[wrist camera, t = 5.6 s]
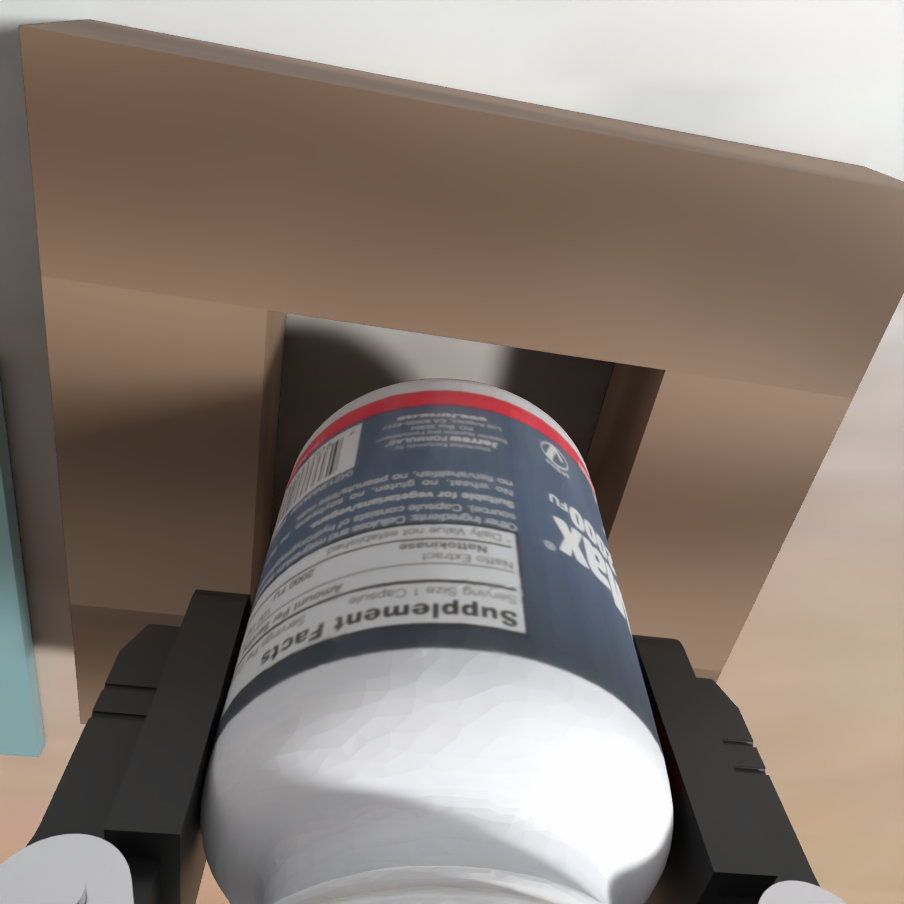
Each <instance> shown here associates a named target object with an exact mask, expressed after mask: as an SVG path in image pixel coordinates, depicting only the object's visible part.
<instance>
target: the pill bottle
mask: <svg viewBox="0 0 904 904" xmlns="http://www.w3.org/2000/svg"><path fill="white" fill-rule="evenodd" d="M200 826H201V833H202V841H203V848H204V852H205V856H206V859H207V862H208V864H209V867H210V869H211V872H212V874H213V876H214V878H215V880H216V882H217V883H218V885H219V887H220V889H221V890H222V892H223V893H224V895H225V896H226V898H227V899H228V900H229V902H230V903H231V904H644V903H645V902H646V900H647V899H648V898H649V896H650V895H651V893H652V891H653V890H654V888H655V886H656V885H657V883H658V881H659V879H660V877H661V875H662V872H663V870H664V868H665V865H666V862H667V858H668V855H669V852H670V847H671V840H672V833H673V804H672V797H671V791H670V785H669V780H668V775H667V771H666V766H665V761H664V756H663V752H662V748H661V744H660V741H659V737H658V733H657V729H656V725H655V722H654V718H653V714H652V710H651V706H650V702H649V699H648V695H647V691H646V688H645V684H644V680H643V676H642V673H641V669H640V665H639V662H638V658H637V654H636V650H635V646H634V642H633V638H632V634H631V630H630V626H629V622H628V618H627V613H626V608H625V605H624V602H623V599H622V595H621V591H620V587H619V583H618V579H617V576H616V572H615V569H614V565H613V562H612V558H611V554H610V550H609V546H608V542H607V538H606V535H605V531H604V527H603V523H602V519H601V515H600V511H599V508H598V504H597V499H596V495H595V490H594V487H593V485H592V482H591V480H590V476H589V473H588V470H587V467H586V464H585V462H584V460H583V458H582V456H581V454H580V452H579V450H578V449H577V447H576V446H575V444H574V443H573V441H572V440H571V439H570V437H569V436H568V435H567V433H566V432H565V431H564V430H563V429H562V428H561V426H560V425H559V424H558V423H557V422H555V421H554V420H553V419H552V418H551V417H550V416H549V415H548V414H546V413H545V412H543V411H542V410H541V409H539V408H538V407H537V406H535V405H533V404H532V403H530V402H529V401H527V400H525V399H523V398H521V397H519V396H517V395H515V394H513V393H510V392H508V391H506V390H503V389H500V388H497V387H495V386H491V385H487V384H483V383H479V382H475V381H468V380H458V379H421V380H413V381H407V382H402V383H397V384H393V385H390V386H386V387H383V388H380V389H377V390H374V391H372V392H370V393H367V394H365V395H363V396H361V397H359V398H357V399H355V400H353V401H351V402H350V403H348V404H347V405H345V406H343V407H342V408H341V409H339V410H338V411H337V412H335V413H334V414H333V415H332V416H330V417H329V418H328V419H327V420H326V421H325V422H324V423H323V424H322V425H321V426H320V427H319V428H318V429H317V430H316V431H315V432H314V433H313V435H312V436H311V437H310V439H309V440H308V441H307V443H306V444H305V446H304V448H303V449H302V451H301V453H300V454H299V456H298V458H297V461H296V463H295V466H294V468H293V471H292V474H291V476H290V479H289V482H288V485H287V487H286V490H285V494H284V498H283V502H282V505H281V508H280V512H279V515H278V519H277V522H276V526H275V529H274V532H273V536H272V539H271V543H270V547H269V550H268V553H267V556H266V560H265V564H264V568H263V571H262V575H261V578H260V582H259V585H258V589H257V592H256V596H255V599H254V603H253V606H252V610H251V613H250V617H249V621H248V624H247V627H246V631H245V634H244V638H243V641H242V645H241V648H240V652H239V656H238V659H237V663H236V666H235V670H234V673H233V677H232V680H231V684H230V687H229V690H228V693H227V697H226V701H225V704H224V708H223V711H222V714H221V718H220V721H219V724H218V728H217V732H216V735H215V738H214V741H213V744H212V749H211V754H210V758H209V763H208V767H207V772H206V776H205V781H204V787H203V792H202V797H201V811H200Z"/></svg>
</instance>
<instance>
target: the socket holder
mask: <svg viewBox="0 0 904 904" xmlns="http://www.w3.org/2000/svg"><path fill="white" fill-rule="evenodd" d="M19 33H20V45H21V56H22V67H23V79H24V90H25V101H26V112H27V124H28V135H29V146H30V158H31V169H32V180H33V192H34V203H35V214H36V226H37V237H38V248H39V259H40V271H41V282H42V293H43V305H44V316H45V327H46V338H47V350H48V361H49V372H50V384H51V395H52V406H53V418H54V429H55V440H56V451H57V463H58V474H59V485H60V497H61V508H62V519H63V531H64V542H65V553H66V564H67V576H68V587H69V598H70V610H71V621H72V632H73V644H74V655H75V666H76V678H77V689H78V700H79V711H80V723H81V724H86V723H87V721H88V719H89V718H91V716H92V710H93V708H94V706H95V704H96V702H97V699H98V697H99V695H100V693H101V691H102V690H104V687H105V682H106V680H107V678H108V675H109V673H110V671H111V669H112V667H113V664H114V662H115V660H116V658H117V656H118V654H119V651H120V650H121V649H122V648H123V647H124V646H125V645H126V644H127V643H129V642H130V641H131V640H132V639H133V638H134V637H135V636H136V635H137V634H138V633H139V632H141V631H142V630H143V629H144V628H145V627H146V626H147V625H148V624H157V625H168V626H178V627H181V624H182V621H183V619H184V616H185V614H186V611H187V608H188V606H189V603H190V600H191V598H192V595H193V593H194V592H195V590H197V589H200V590H210V591H220V592H230V593H240V594H250V595H251V610H252V606H253V603H254V599H255V596H256V592H257V589H258V585H259V582H260V578H261V575H262V571H263V568H264V564H265V560H266V556H267V553H268V550H269V547H270V544H269V542H270V528H271V514H272V501H273V487H274V474H275V460H276V447H277V433H278V420H279V406H280V393H281V379H282V365H283V352H284V338H285V325H286V313H290V314H297V315H303V316H310V317H317V318H323V319H330V320H337V321H343V322H350V323H357V324H363V325H370V326H376V327H383V328H390V329H396V330H403V331H410V332H416V333H423V334H429V335H436V336H443V337H449V338H456V339H463V340H469V341H476V342H483V343H489V344H496V345H502V346H509V347H516V348H522V349H529V350H536V351H542V352H549V353H555V354H562V355H569V356H575V357H582V358H589V359H595V360H602V361H609V362H615V365H614V369H613V372H612V375H611V379H610V382H609V385H608V388H607V392H606V395H605V398H604V401H603V405H602V408H601V411H600V415H599V418H598V421H597V424H596V428H595V431H594V434H593V438H592V441H591V444H590V447H589V451H588V454H587V457H586V461H585V464H586V467H587V470H588V473H589V476H590V480H591V482H592V485H593V487H594V490H595V495H596V499H597V504H598V508H599V511H600V515H601V519H602V523H603V527H604V531H605V535H606V538H607V542H608V546H609V550H610V554H611V558H612V562H613V565H614V569H615V572H616V576H617V579H618V583H619V587H620V591H621V595H622V599H623V602H624V605H625V608H626V613H627V618H628V622H629V626H630V630H631V634H633V635H642V636H652V637H662V638H672V639H677V640H679V641H680V642H681V644H682V645H683V647H684V649H685V651H686V654H687V656H688V659H689V661H690V664H691V666H692V668H693V671H694V673H695V676H696V677H697V678H707V679H713V681H714V682H715V683H716V682H717V680H718V678H719V675H720V673H721V671H722V669H723V667H724V665H725V663H726V661H727V659H728V657H729V655H730V653H731V650H732V648H733V646H734V644H735V642H736V640H737V638H738V636H739V634H740V632H741V630H742V628H743V626H744V623H745V621H746V619H747V617H748V615H749V613H750V611H751V609H752V607H753V605H754V603H755V601H756V599H757V596H758V594H759V592H760V590H761V588H762V586H763V584H764V582H765V580H766V578H767V576H768V574H769V572H770V569H771V567H772V565H773V563H774V561H775V559H776V557H777V555H778V553H779V551H780V549H781V547H782V544H783V542H784V540H785V538H786V536H787V534H788V532H789V530H790V528H791V526H792V524H793V522H794V520H795V517H796V515H797V513H798V511H799V509H800V507H801V505H802V503H803V501H804V499H805V497H806V495H807V493H808V490H809V488H810V486H811V484H812V482H813V480H814V478H815V476H816V474H817V472H818V470H819V468H820V466H821V463H822V461H823V459H824V457H825V455H826V453H827V451H828V449H829V447H830V445H831V443H832V441H833V438H834V436H835V434H836V432H837V430H838V428H839V426H840V424H841V422H842V420H843V418H844V416H845V414H846V411H847V409H848V407H849V405H850V403H851V401H852V399H853V397H854V395H855V393H856V391H857V389H858V387H859V384H860V382H861V380H862V378H863V376H864V374H865V372H866V370H867V368H868V366H869V364H870V362H871V360H872V357H873V355H874V353H875V351H876V349H877V347H878V345H879V343H880V341H881V339H882V337H883V335H884V332H885V330H886V328H887V326H888V324H889V322H890V320H891V318H892V316H893V314H894V312H895V310H896V308H897V305H898V303H899V301H900V299H901V297H902V295H903V293H904V182H903V181H900V180H898V179H895V178H892V177H890V176H887V175H885V174H882V173H880V172H877V171H874V170H872V169H869V168H867V167H864V166H858V165H853V164H848V163H842V162H837V161H832V160H827V159H821V158H816V157H811V156H806V155H800V154H795V153H790V152H785V151H779V150H774V149H769V148H764V147H758V146H753V145H748V144H742V143H737V142H732V141H727V140H721V139H716V138H711V137H706V136H700V135H695V134H690V133H685V132H679V131H674V130H669V129H664V128H658V127H653V126H648V125H643V124H637V123H632V122H627V121H621V120H616V119H611V118H606V117H600V116H595V115H590V114H585V113H579V112H574V111H569V110H564V109H558V108H553V107H548V106H543V105H537V104H532V103H527V102H521V101H516V100H511V99H506V98H500V97H495V96H490V95H485V94H479V93H474V92H469V91H464V90H458V89H453V88H448V87H443V86H437V85H432V84H427V83H421V82H416V81H411V80H406V79H400V78H395V77H390V76H385V75H379V74H374V73H369V72H364V71H358V70H353V69H348V68H343V67H337V66H332V65H327V64H322V63H316V62H311V61H306V60H300V59H295V58H290V57H285V56H279V55H274V54H269V53H264V52H258V51H253V50H248V49H243V48H237V47H232V46H227V45H222V44H216V43H211V42H206V41H200V40H195V39H190V38H185V37H179V36H174V35H169V34H164V33H158V32H153V31H148V30H143V29H137V28H132V27H127V26H122V25H116V24H111V23H106V22H101V21H95V20H77V21H65V22H52V23H40V24H27V25H19Z"/></svg>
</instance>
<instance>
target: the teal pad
mask: <svg viewBox="0 0 904 904" xmlns="http://www.w3.org/2000/svg"><path fill="white" fill-rule="evenodd" d="M44 746H45V739H44V731H43V723H42V715H41V706H40V698H39V690H38V682H37V674H36V666H35V658H34V650H33V642H32V634H31V626H30V617H29V609H28V601H27V593H26V585H25V577H24V569H23V561H22V553H21V545H20V537H19V528H18V520H17V512H16V504H15V496H14V488H13V480H12V472H11V464H10V456H9V448H8V439H7V431H6V423H5V415H4V407H3V399H2V391H1V383H0V754H3V755H15V756H28V757H39V756H40V754H41V752H42V750H43V748H44Z"/></svg>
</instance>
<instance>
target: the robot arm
mask: <svg viewBox="0 0 904 904" xmlns="http://www.w3.org/2000/svg"><path fill="white" fill-rule="evenodd" d="M250 613H251V595H250V594H240V593H230V592H220V591H210V590H200V589H197V590H195V592H194V593H193V595H192V598H191V600H190V603H189V606H188V608H187V611H186V614H185V616H184V619H183V621H182V624H181V627H178V626H168V625H157V624H148V625H147V626H146V627H145V628H144V629H143V630H142V631H141V632H139V633H138V634H137V635H136V636H135V637H134V638H133V639H132V640H131V641H130V642H129V643H127V644H126V645H125V646H124V647H123V648H122V649H121V650H120V651H119V654H118V656H117V658H116V660H115V662H114V664H113V667H112V669H111V671H110V673H109V675H108V678H107V680H106V682H105V687H104V690H102V691H101V693H100V695H99V697H98V699H97V702H96V704H95V706H94V708H93V710H92V716H91V718H89V719H88V721H87V723H86V726H85V728H84V730H83V732H82V734H81V736H80V739H79V741H78V743H77V745H76V747H75V750H74V752H73V754H72V756H71V758H70V760H69V763H68V765H67V767H66V769H65V771H64V774H63V776H62V778H61V780H60V782H59V784H58V787H57V789H56V791H55V793H54V795H53V798H52V800H51V802H50V804H49V806H48V808H47V811H46V813H45V815H44V817H43V819H42V822H41V824H40V826H39V827H38V829H37V831H36V833H35V835H34V836H33V838H32V839H31V840H30V842H29V843H28V844H27V846H26V847H25V848H23V849H22V850H20V851H18V852H17V853H15V854H14V855H12V856H11V857H10V858H9V859H7V860H6V861H5V862H4V863H2V864H1V865H0V904H195V903H196V899H197V895H198V891H199V887H200V883H201V879H202V875H203V871H204V867H205V863H206V856H205V852H204V848H203V841H202V833H201V826H200V811H201V797H202V792H203V787H204V781H205V776H206V772H207V767H208V763H209V758H210V754H211V749H212V744H213V741H214V738H215V735H216V732H217V728H218V724H219V721H220V718H221V714H222V711H223V708H224V704H225V701H226V697H227V693H228V690H229V687H230V684H231V680H232V677H233V673H234V670H235V666H236V663H237V659H238V656H239V652H240V648H241V645H242V641H243V638H244V634H245V631H246V627H247V624H248V621H249V617H250ZM632 638H633V642H634V646H635V650H636V654H637V658H638V662H639V665H640V669H641V673H642V676H643V680H644V684H645V688H646V691H647V695H648V699H649V702H650V706H651V710H652V714H653V718H654V722H655V725H656V729H657V733H658V737H659V741H660V744H661V748H662V752H663V756H664V761H665V766H666V771H667V775H668V780H669V785H670V791H671V797H672V804H673V833H672V840H671V847H670V852H669V855H668V858H667V862H666V865H665V868H664V870H663V872H662V875H661V877H660V879H659V881H658V883H657V885H656V886H655V888H654V890H653V891H652V893H651V895H650V896H649V898H648V899H647V900H646V902H645V903H644V904H847V903H845V902H844V901H843V900H841V899H840V898H839V897H837V896H835V895H834V894H832V893H831V892H829V891H827V890H825V889H823V888H821V887H820V886H819V884H818V882H817V880H816V878H815V876H814V874H813V872H812V869H811V867H810V865H809V863H808V861H807V858H806V856H805V854H804V852H803V850H802V847H801V845H800V843H799V841H798V839H797V836H796V834H795V832H794V830H793V828H792V825H791V823H790V821H789V819H788V816H787V814H786V812H785V810H784V808H783V805H782V803H781V801H780V799H779V797H778V794H777V792H776V790H775V788H774V786H773V783H772V781H771V779H770V777H769V775H766V774H765V766H764V764H763V761H762V759H761V757H760V755H759V753H758V750H757V748H755V747H753V739H752V737H751V735H750V733H749V731H748V728H747V726H746V724H745V722H744V720H743V717H742V715H741V713H740V711H739V708H738V707H737V706H736V705H735V704H734V703H733V702H732V701H731V700H730V698H729V697H728V696H727V695H726V694H725V693H724V692H723V691H722V690H721V688H720V687H719V686H718V685H717V684H716V683H715V682H714V681H713V679H707V678H697V677H696V676H695V673H694V671H693V668H692V666H691V664H690V661H689V659H688V656H687V654H686V651H685V649H684V647H683V645H682V644H681V642H680V641H679V640H677V639H672V638H662V637H652V636H642V635H633V634H632Z"/></svg>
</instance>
